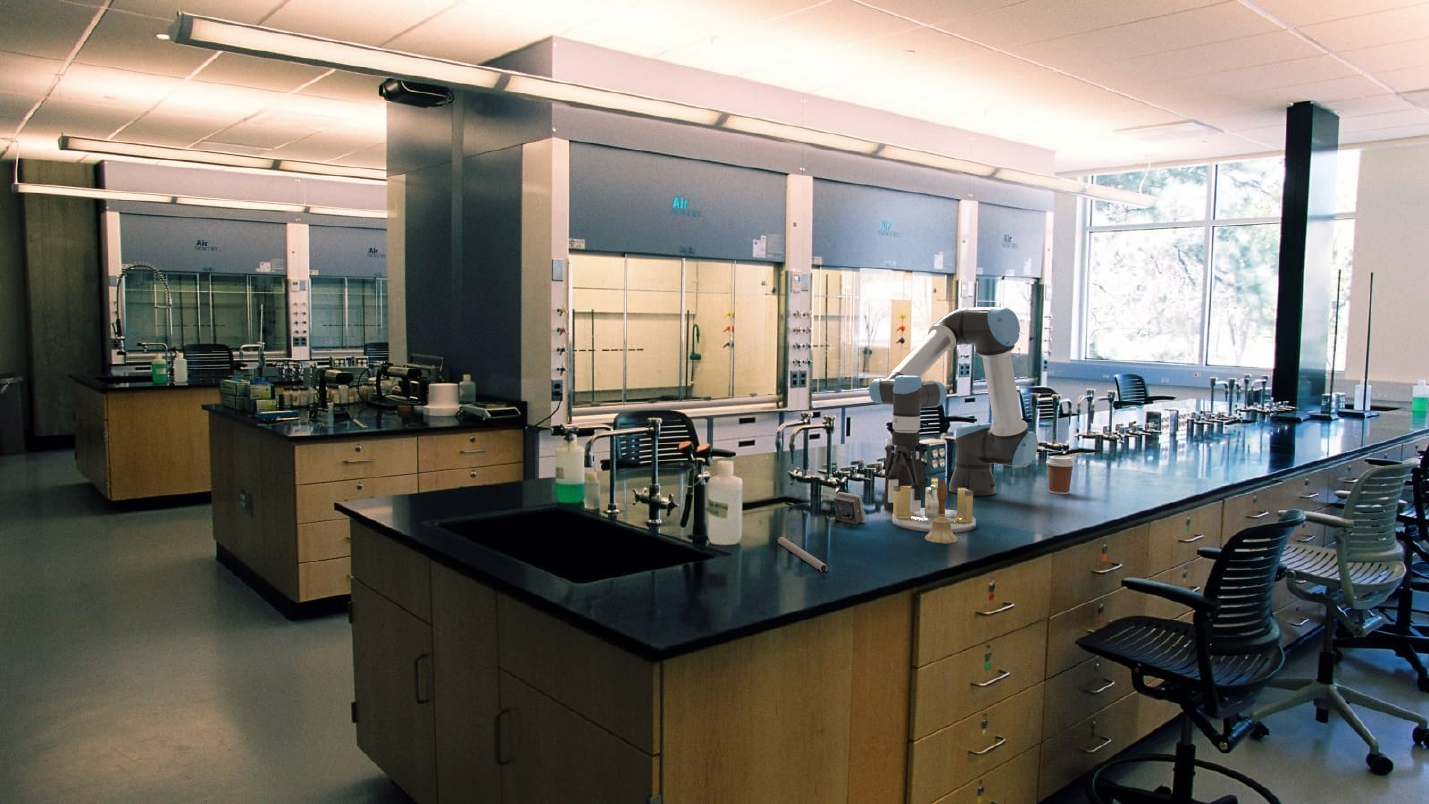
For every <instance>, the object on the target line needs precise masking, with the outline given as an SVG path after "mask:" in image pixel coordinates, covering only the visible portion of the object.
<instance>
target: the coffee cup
mask: <svg viewBox="0 0 1429 804" xmlns="http://www.w3.org/2000/svg"><path fill="white" fill-rule="evenodd" d="M1045 464H1046V465H1047V470H1048V492H1049V493H1050V494H1055V495H1070V491H1071V490H1070V489H1071V483H1072V475H1073V467H1075V466H1076V463H1075V462H1074V461H1073V458H1072V457H1071V456H1066V455H1065V456H1064V455H1052V456H1049V459H1047V460H1046V461H1045Z"/></svg>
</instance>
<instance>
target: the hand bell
mask: <svg viewBox="0 0 1429 804" xmlns="http://www.w3.org/2000/svg"><path fill="white" fill-rule="evenodd" d="M947 496H948V487H947V484H946V480H945V479H943V478H942V479H939V480H938V488H937V497H938V501H939V512H938V513H939V516H938V517H937V518H934V519H933V524H932V528H931V530H930V532H928V534H926V535H925V537H924V540H926V541H927V542H931V543H933V544H945V545H946V544H954V543H957V542H958V538H957V536H955V534H954V533H953V532H952V529H951V522H950V520H949V519H948V518H946V517H945V509H946V500H947Z"/></svg>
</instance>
